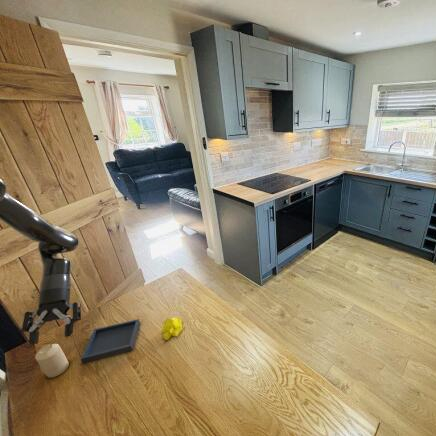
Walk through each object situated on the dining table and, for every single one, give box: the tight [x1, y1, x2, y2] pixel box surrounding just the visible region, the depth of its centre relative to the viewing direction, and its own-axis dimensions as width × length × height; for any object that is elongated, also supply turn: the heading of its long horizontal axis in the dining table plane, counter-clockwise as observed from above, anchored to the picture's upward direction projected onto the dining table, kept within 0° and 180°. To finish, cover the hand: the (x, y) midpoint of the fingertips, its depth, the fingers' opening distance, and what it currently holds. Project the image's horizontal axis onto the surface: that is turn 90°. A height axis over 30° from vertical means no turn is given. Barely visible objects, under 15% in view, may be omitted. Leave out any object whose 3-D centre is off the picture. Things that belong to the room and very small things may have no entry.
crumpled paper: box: [160, 317, 184, 341], centre depth 90 cm, size 6×8×8 cm
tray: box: [80, 318, 141, 364], centre depth 86 cm, size 15×13×2 cm
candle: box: [34, 343, 70, 379], centre depth 75 cm, size 6×6×10 cm
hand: (51, 340), depth 76 cm, fingers open, 8 cm apart
